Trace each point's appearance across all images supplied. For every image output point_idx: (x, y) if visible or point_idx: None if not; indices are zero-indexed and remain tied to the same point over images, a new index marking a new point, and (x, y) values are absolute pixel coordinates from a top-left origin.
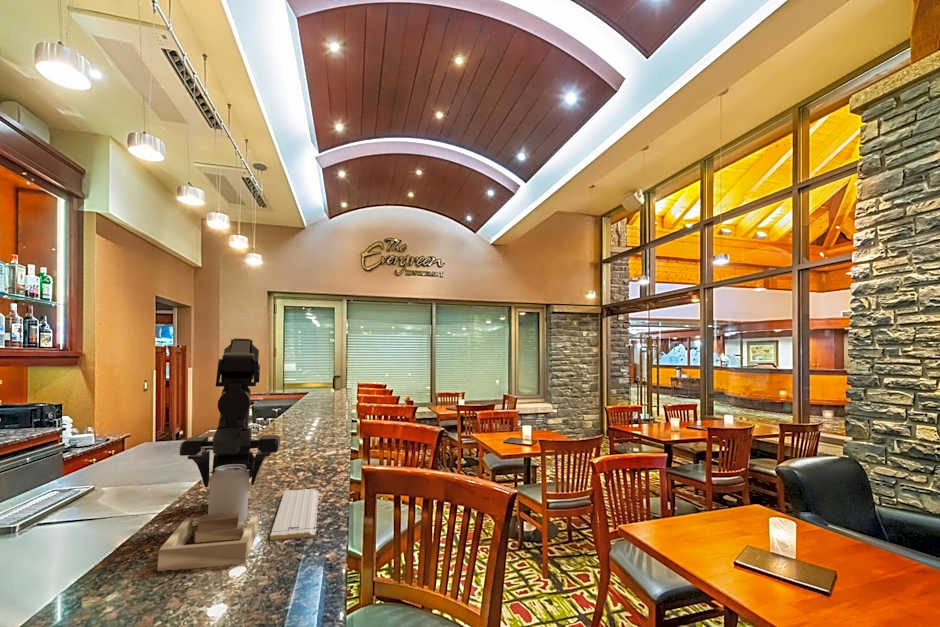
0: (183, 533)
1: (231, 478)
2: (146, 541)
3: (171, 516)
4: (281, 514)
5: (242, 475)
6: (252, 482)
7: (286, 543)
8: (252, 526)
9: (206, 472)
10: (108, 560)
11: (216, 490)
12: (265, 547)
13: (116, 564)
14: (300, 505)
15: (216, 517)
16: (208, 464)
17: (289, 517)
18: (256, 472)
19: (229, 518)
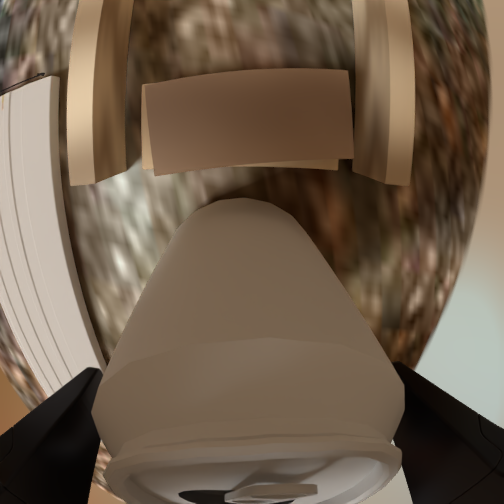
0: (379, 47)
1: (197, 355)
2: (457, 169)
3: (407, 352)
4: (60, 288)
5: (105, 404)
6: (87, 376)
7: (22, 57)
8: (80, 11)
9: (443, 432)
10: (489, 72)
11: (330, 288)
12: (71, 23)
13: (469, 36)
14: (46, 350)
15: (266, 104)
16: (426, 496)
17: (30, 254)
18: (32, 419)
19: (189, 77)
